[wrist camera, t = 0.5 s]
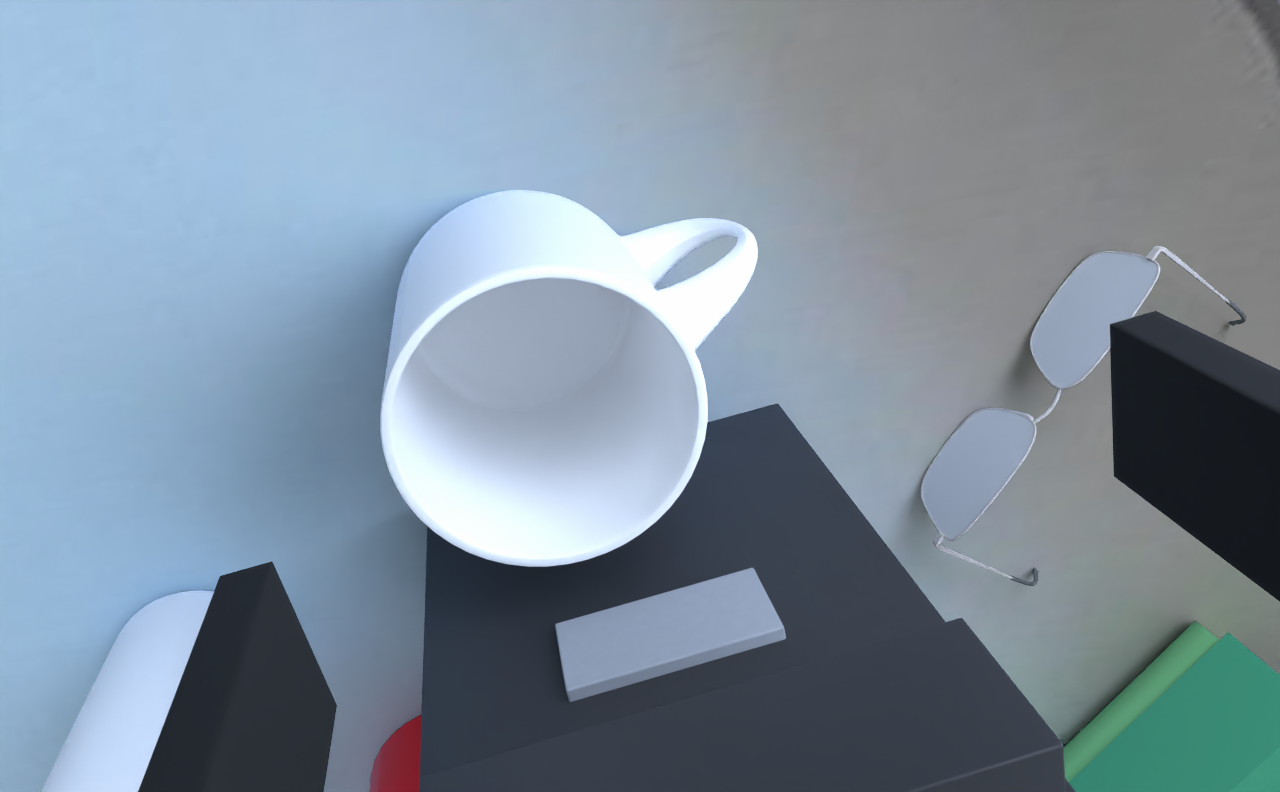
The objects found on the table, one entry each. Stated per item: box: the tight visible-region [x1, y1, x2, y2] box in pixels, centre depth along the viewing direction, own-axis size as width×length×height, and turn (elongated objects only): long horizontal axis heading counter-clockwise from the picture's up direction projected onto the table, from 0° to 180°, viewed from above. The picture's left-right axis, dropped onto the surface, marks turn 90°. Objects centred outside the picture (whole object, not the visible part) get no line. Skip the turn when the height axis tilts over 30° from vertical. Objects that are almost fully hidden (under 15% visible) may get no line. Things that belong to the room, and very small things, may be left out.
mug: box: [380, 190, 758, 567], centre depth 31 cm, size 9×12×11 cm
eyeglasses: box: [921, 246, 1246, 586], centre depth 41 cm, size 14×8×4 cm, turn 148°
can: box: [41, 591, 214, 792], centre depth 34 cm, size 6×6×12 cm
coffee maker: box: [419, 404, 1076, 792], centre depth 29 cm, size 8×14×22 cm, turn 102°
